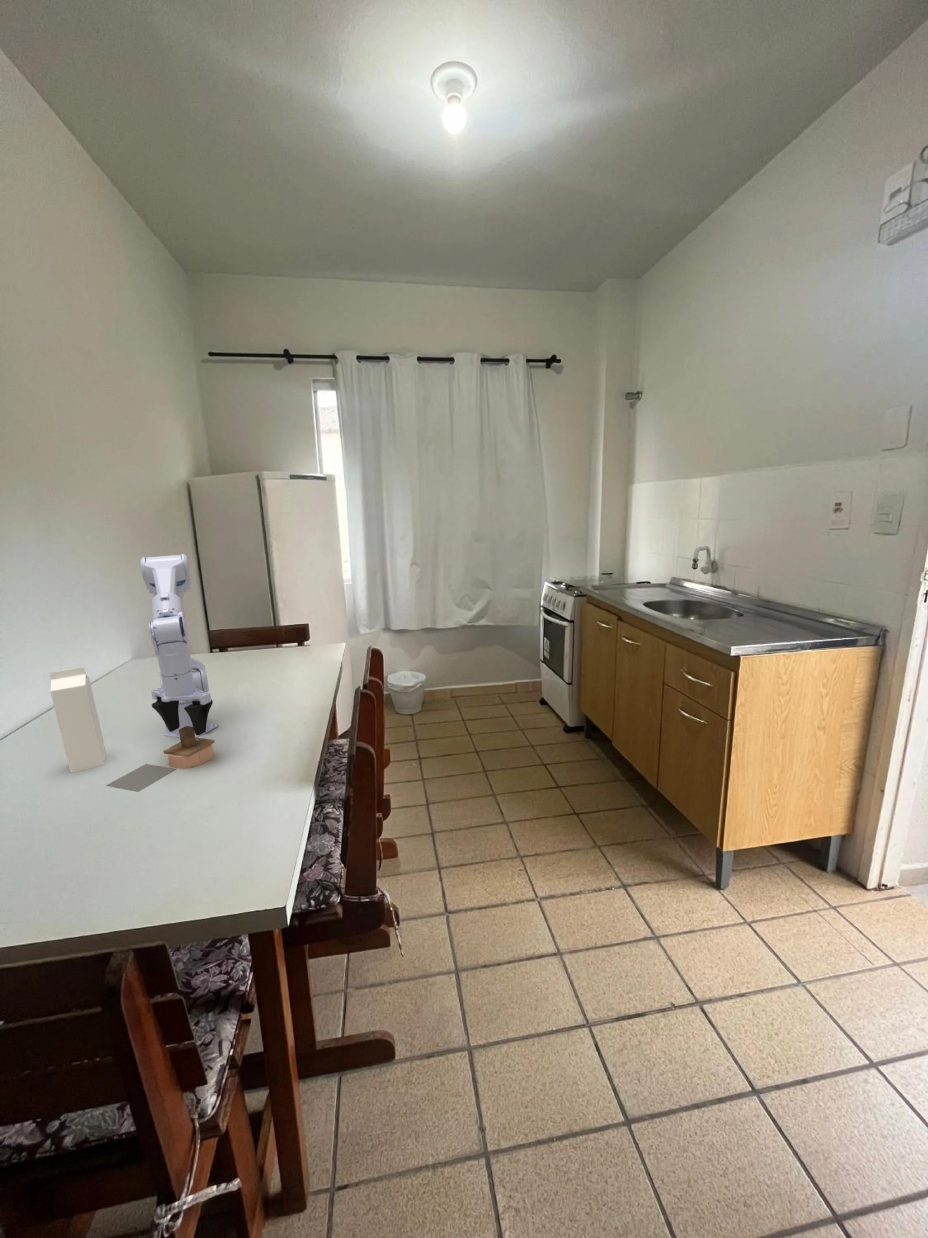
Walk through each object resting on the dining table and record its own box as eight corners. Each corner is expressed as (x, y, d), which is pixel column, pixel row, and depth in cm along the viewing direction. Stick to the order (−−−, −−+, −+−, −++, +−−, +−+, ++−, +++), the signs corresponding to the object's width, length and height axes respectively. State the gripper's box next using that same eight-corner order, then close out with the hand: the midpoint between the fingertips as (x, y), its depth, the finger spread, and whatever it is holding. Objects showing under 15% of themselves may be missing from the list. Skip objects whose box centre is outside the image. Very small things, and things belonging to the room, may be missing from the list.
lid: (163, 753, 110) (159, 733, 109) (190, 739, 116) (187, 720, 115) (188, 757, 107) (184, 737, 106) (214, 742, 114) (211, 723, 113)
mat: (105, 786, 103) (105, 785, 103) (146, 765, 111) (145, 763, 111) (138, 793, 100) (138, 791, 100) (177, 770, 108) (177, 769, 108)
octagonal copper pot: (162, 766, 110) (159, 754, 109) (193, 749, 118) (191, 737, 117) (191, 771, 107) (189, 758, 107) (222, 753, 115) (220, 740, 114)
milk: (104, 766, 112) (82, 670, 107) (70, 774, 109) (46, 676, 104) (107, 755, 117) (86, 663, 112) (74, 762, 114) (52, 669, 109)
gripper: (134, 676, 107) (146, 736, 110) (186, 681, 102) (198, 743, 105) (163, 665, 113) (174, 722, 116) (214, 669, 108) (224, 729, 112)
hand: (187, 731), depth 111 cm, fingers open, 7 cm apart
